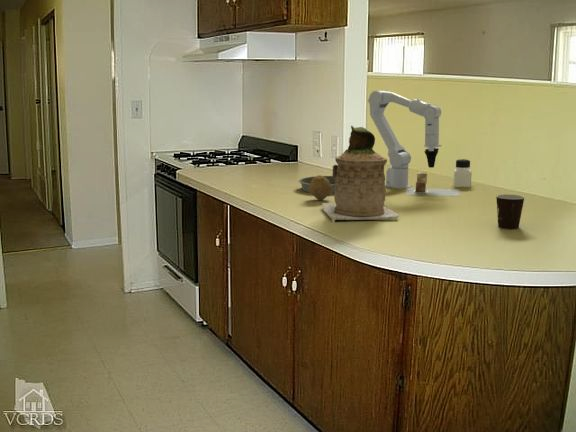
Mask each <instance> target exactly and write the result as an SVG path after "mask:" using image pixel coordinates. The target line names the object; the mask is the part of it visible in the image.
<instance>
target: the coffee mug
mask: <svg viewBox="0 0 576 432" xmlns="http://www.w3.org/2000/svg"><path fill="white" fill-rule="evenodd" d="M495 199H496V214H497V216H496V217H497V227H498V228H501V229H503V230H504V229H505V230H517V229H519V228H520V223H521V218H522V213H523V207H524V201H525V196H523V195H520V194H519V195H518V194H510V193H509V194H508V193H507V194H497V195H496V196H495Z"/></svg>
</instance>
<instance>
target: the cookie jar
mask: <svg viewBox="0 0 576 432" xmlns="http://www.w3.org/2000/svg"><path fill="white" fill-rule="evenodd" d="M350 128H351V132H350V133H349V134H350V136H349V138H348V146H347V147H348V148H347V149H345V150H344V151H343V153H341V154H340V155H338V156H335V163H336V164H334V165H333V166H332V176H333V179H335V194H334V197H333V198H334V202H335V203H325V202H324V203H321V205H322V209H323V211H324V213H325V214H326V215H327V216H328V217H329V218H330V219H331V221H332V222H333V223H335V221H337V220H339V221H363V220H365V221H367V220H371V221H373V220H375V221H379V220H380V221H397V219H398V218H399V216H400V214H399V213H396V212H395V211H394V210H392V209H389V207H387V206H386V204H385V200H386V195H387V189H386V186H385V185H386V176H385V175H386V173H385V165H386V164H387V163H388V158H387V157H383V155H381V154H379V153H378V152H376V151H375V150H374V149H373V148H374V146H375V144H376V138H375V135H374V134H373V133H372V132H371V131H370V130H368V129H366V128H365V127H363V126H359V127H354V125H350Z"/></svg>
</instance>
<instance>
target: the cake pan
mask: <svg viewBox="0 0 576 432" xmlns="http://www.w3.org/2000/svg"><path fill="white" fill-rule="evenodd" d="M316 176H317V175H316ZM316 176H314V175H313V176H308V177H302V178H299V180H298V183H300V184H301V188H302V189H301V190H303V192H306V193H310V194H311V192H310V190H309V186H310V183H311V181H312V179H313V178H314V177H316ZM323 176H324V177H326V178H327V179H328V180H329V182H330V184H331V187H332V193H331V195H333V193H335V179H333V175H323Z"/></svg>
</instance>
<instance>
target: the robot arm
mask: <svg viewBox="0 0 576 432" xmlns="http://www.w3.org/2000/svg"><path fill="white" fill-rule="evenodd" d="M367 102H368V104H369V115H370V117H371V120H372V121H373V124H374V125H375V127H376V129H377V130H378V133H379V134H380V137H381V138H382V140H383V141H384V144H385V146H386V148H387V149H388V152H387V155H388V160H389V164H390V166H389V167H388V168H387V170H386V173H385V175H386V176H385V187H388V188H394V189H405V188H406V189H407V188H412V187H413V186H412V185H408V184H409V164H410V163H411V159H412V156H411V154H410V153H409V152H408V151H407V150H406V149H405V147H404V146H403V145H401V144H400V142H399V141H398V138H397V136H396V135H395V133H394V131H393V129H392V127H391V126H390V124H389V122H388V120H387V118H386V115H385V114H384V113H385V110H386V108H387V106H388V105H389V103H393V104H396V105H397V104H398V105H401V106H403V107H406V108H408V110H409V112H411V113H413V114H415V115H418V116H420V117H423V118H424V120H425V122H424V132H425V133H424V148H425V150H424V154H425V156H426V160H427V166H428V168H435V164H436V159H437V155H438V154H439V147H442V144H439V141H440V140H439V139H440V138H439V137H440V117H441V115H442V110H441V108H440V106H438V105H436V104H434V105H431V103H430V102H424V101H422V99H421V98H414V99H412V100H411V99H409V98H407V97H404V96H402V95H400V94H398V93H395V92H392V91H388V90H385V89H383V90H374V91H373V90H372V91H371V92H370V94H369V97H368V99H367Z"/></svg>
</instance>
